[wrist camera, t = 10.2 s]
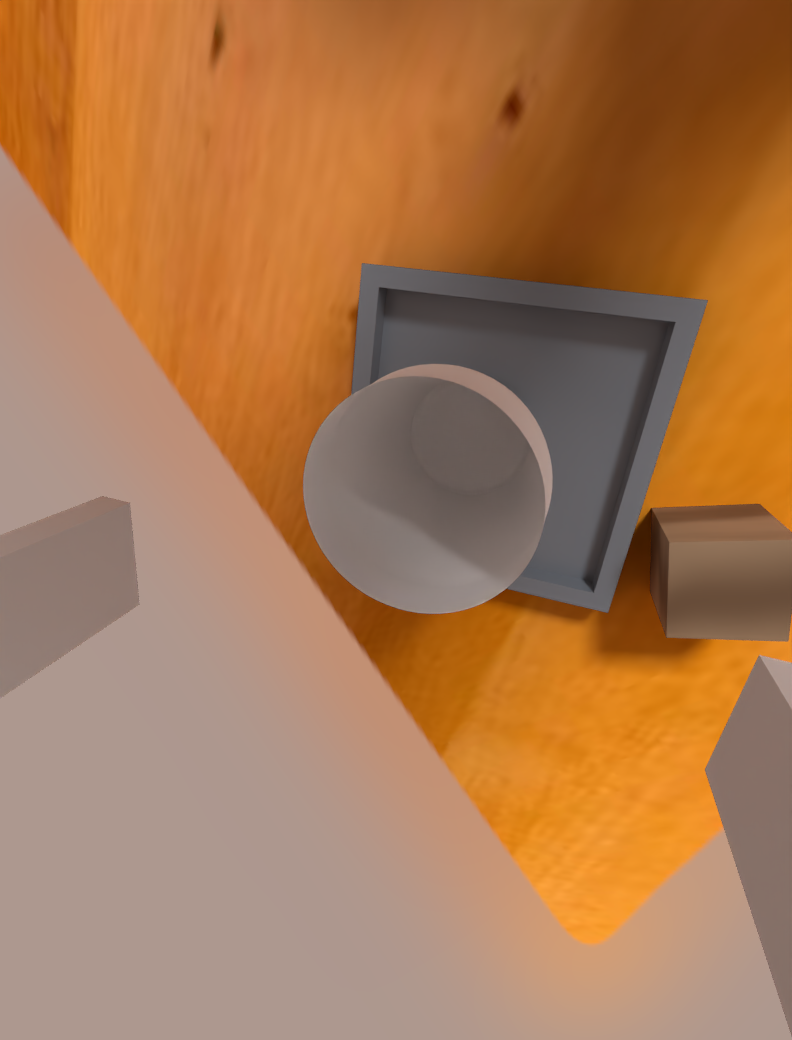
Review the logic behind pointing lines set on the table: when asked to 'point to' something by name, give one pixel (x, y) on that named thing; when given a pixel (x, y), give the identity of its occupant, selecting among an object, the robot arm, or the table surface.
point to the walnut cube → (721, 572)
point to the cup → (429, 488)
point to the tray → (550, 394)
